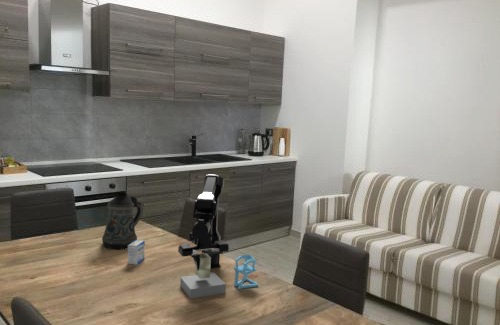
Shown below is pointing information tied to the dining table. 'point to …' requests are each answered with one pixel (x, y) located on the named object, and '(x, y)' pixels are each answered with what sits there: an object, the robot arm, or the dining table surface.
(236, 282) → the light blue lattice frame
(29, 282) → the dining table surface
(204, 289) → the grey block
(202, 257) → the sage block
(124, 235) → the beer stein
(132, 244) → the medicine box
